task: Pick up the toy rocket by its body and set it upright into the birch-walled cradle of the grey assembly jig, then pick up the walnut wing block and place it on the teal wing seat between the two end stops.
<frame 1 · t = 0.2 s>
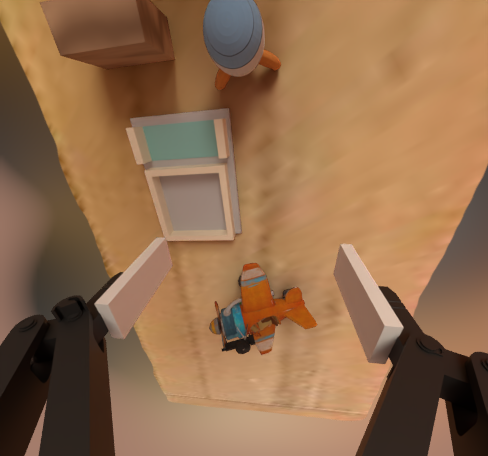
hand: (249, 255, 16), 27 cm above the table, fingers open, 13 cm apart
wing block: (135, 45, 33), on the table
jig: (192, 180, 42), on the table
toy rocket: (237, 63, 33), on the table
toy airplane: (263, 290, 55), on the table
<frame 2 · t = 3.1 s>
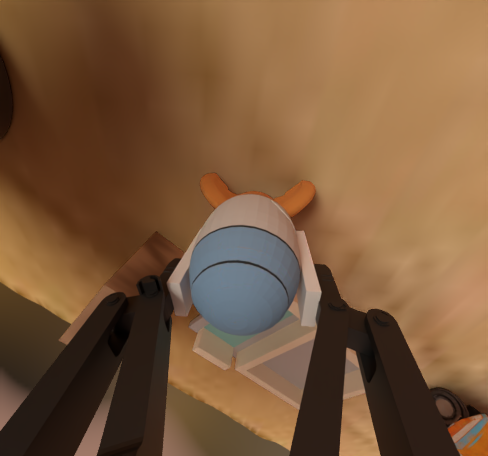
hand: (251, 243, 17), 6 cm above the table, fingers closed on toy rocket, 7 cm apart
wing block: (149, 269, 28), on the table
jig: (287, 338, 31), on the table
toy rocket: (253, 213, 22), on the table, touching gripper
toy airplane: (469, 397, 34), on the table
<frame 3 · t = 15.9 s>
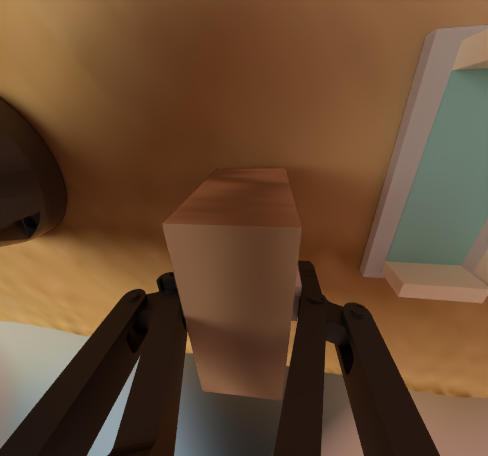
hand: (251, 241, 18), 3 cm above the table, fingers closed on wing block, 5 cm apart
wing block: (251, 238, 18), point 2 cm above the table, touching gripper
when the fingers open (3 cm above the table, at t = 20.7 s): wing block drops 1 cm, resting on jig.
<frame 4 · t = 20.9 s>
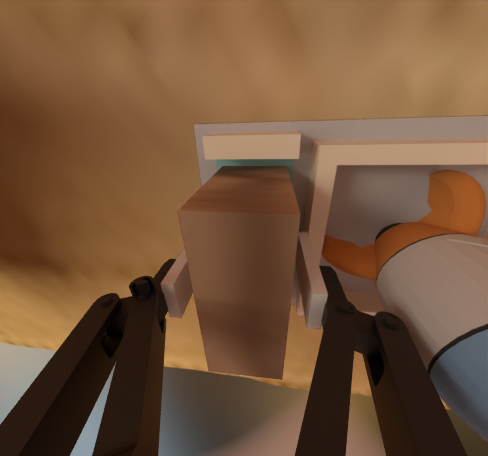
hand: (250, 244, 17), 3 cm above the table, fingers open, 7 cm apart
wing block: (254, 232, 19), point 1 cm above the table, touching jig
jig: (336, 229, 19), on the table
toy rocket: (390, 242, 18), point 1 cm above the table, touching jig
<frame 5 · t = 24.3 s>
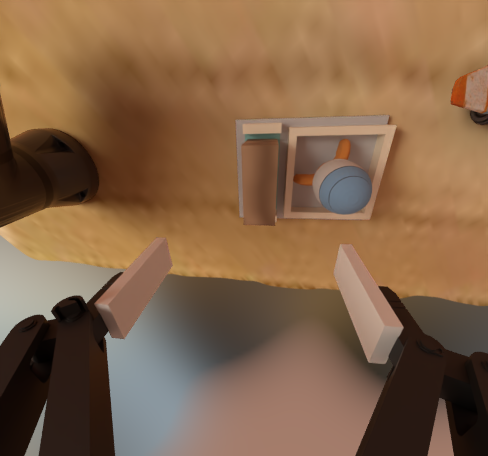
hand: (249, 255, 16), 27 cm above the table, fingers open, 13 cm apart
wing block: (261, 174, 38), point 1 cm above the table, touching jig
jig: (302, 172, 38), on the table
toy rocket: (327, 177, 38), point 1 cm above the table, touching jig
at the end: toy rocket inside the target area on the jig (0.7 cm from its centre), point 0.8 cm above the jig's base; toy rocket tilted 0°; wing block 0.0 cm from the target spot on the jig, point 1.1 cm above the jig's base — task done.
